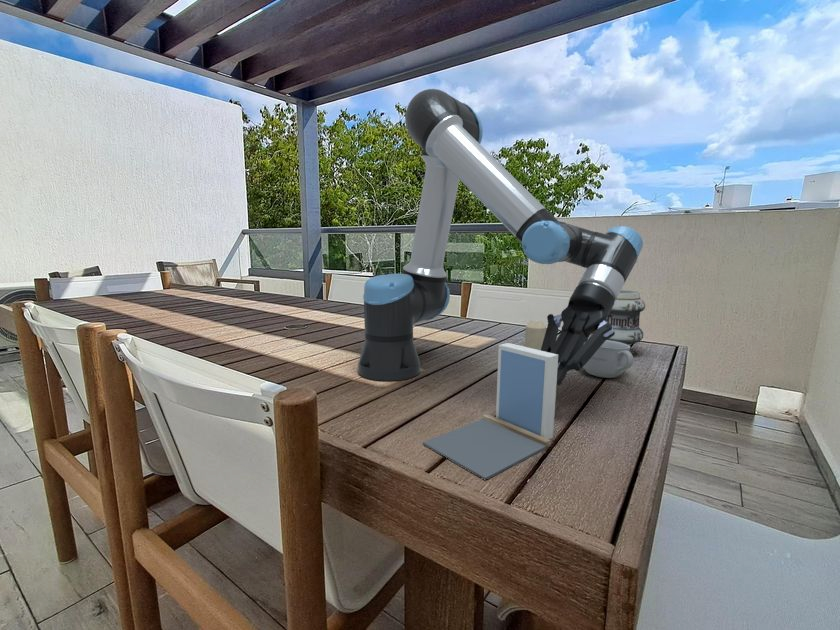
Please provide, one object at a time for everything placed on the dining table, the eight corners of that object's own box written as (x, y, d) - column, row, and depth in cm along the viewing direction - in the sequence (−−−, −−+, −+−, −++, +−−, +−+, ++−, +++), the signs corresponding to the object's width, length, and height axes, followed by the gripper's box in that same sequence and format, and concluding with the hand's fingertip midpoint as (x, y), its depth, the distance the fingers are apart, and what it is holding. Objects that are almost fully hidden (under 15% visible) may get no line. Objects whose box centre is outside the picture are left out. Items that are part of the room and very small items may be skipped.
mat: (486, 419, 75) (486, 417, 75) (549, 446, 65) (549, 444, 65) (422, 444, 66) (422, 442, 66) (485, 480, 56) (485, 478, 56)
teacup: (571, 368, 106) (573, 337, 105) (612, 367, 107) (614, 336, 105) (599, 387, 92) (601, 351, 91) (645, 385, 93) (649, 351, 92)
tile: (504, 417, 76) (507, 342, 74) (552, 437, 68) (558, 354, 66) (495, 421, 74) (498, 345, 72) (543, 442, 67) (548, 357, 64)
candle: (545, 354, 118) (547, 320, 116) (544, 359, 113) (546, 323, 111) (525, 353, 120) (527, 318, 118) (523, 357, 115) (525, 322, 113)
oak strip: (487, 419, 75) (487, 413, 75) (550, 446, 65) (550, 440, 65) (482, 420, 74) (482, 415, 74) (545, 448, 65) (546, 442, 64)
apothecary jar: (601, 345, 129) (605, 287, 126) (644, 351, 123) (650, 290, 119) (591, 353, 120) (595, 291, 117) (637, 360, 113) (644, 294, 110)
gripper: (635, 310, 78) (582, 419, 70) (571, 302, 87) (518, 396, 80) (624, 284, 73) (567, 396, 66) (558, 278, 83) (502, 376, 76)
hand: (540, 396), depth 73 cm, fingers closed
